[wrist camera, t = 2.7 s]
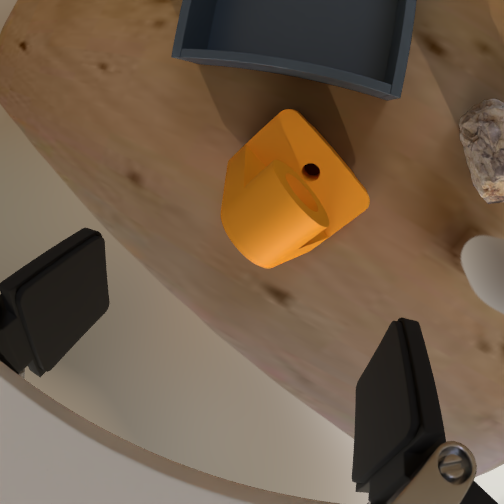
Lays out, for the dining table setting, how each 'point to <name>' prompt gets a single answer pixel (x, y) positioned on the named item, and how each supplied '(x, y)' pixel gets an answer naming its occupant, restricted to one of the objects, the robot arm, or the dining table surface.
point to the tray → (303, 39)
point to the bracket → (287, 192)
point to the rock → (485, 148)
